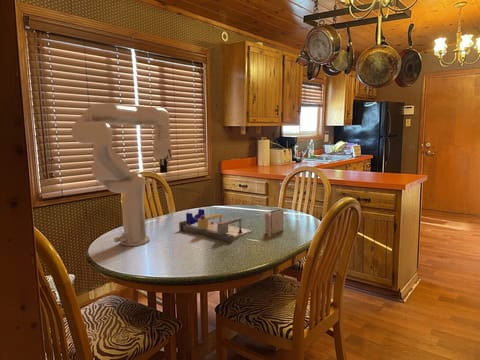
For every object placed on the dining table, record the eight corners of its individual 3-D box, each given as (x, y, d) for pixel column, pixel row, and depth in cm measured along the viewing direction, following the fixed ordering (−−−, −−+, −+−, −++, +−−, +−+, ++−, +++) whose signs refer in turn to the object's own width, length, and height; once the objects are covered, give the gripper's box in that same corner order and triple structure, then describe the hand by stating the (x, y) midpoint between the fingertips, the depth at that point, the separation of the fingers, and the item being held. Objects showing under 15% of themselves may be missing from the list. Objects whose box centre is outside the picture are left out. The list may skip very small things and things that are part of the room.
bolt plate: (235, 237, 167) (235, 234, 166) (194, 228, 185) (194, 225, 185) (251, 232, 176) (251, 229, 175) (211, 223, 194) (210, 220, 194)
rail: (228, 243, 159) (228, 233, 158) (179, 230, 180) (179, 222, 180) (234, 241, 162) (234, 231, 161) (185, 229, 183) (185, 220, 183)
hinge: (270, 236, 168) (269, 215, 166) (260, 235, 171) (259, 214, 170) (284, 229, 179) (284, 209, 177) (275, 228, 182) (275, 208, 181)
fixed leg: (221, 239, 161) (221, 223, 160) (217, 238, 162) (217, 223, 161) (243, 231, 172) (242, 217, 171) (239, 231, 173) (239, 216, 172)
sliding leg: (201, 234, 169) (201, 217, 168) (198, 233, 171) (197, 216, 170) (223, 227, 180) (222, 211, 179) (219, 226, 182) (219, 210, 181)
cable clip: (198, 219, 204) (198, 208, 204) (204, 219, 202) (204, 209, 201) (184, 223, 194) (183, 212, 194) (190, 224, 192) (190, 213, 191)
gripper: (147, 136, 181) (148, 172, 183) (164, 135, 171) (166, 174, 173) (159, 135, 186) (161, 171, 189) (177, 135, 176) (179, 173, 179)
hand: (163, 172), depth 181 cm, fingers closed
